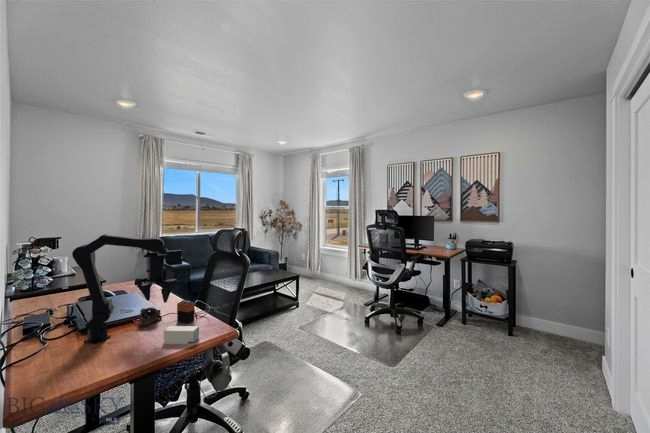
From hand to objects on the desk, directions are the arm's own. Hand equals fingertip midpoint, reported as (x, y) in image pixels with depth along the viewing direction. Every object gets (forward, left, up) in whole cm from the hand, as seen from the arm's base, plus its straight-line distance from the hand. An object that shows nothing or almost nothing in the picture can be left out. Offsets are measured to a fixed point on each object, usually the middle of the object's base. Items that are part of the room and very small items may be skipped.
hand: (156, 301), depth 129 cm
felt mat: (+16, -5, -13) cm, 21 cm away
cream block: (+11, -6, -10) cm, 16 cm away
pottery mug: (-10, +6, -13) cm, 18 cm away
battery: (+5, +12, -13) cm, 19 cm away
